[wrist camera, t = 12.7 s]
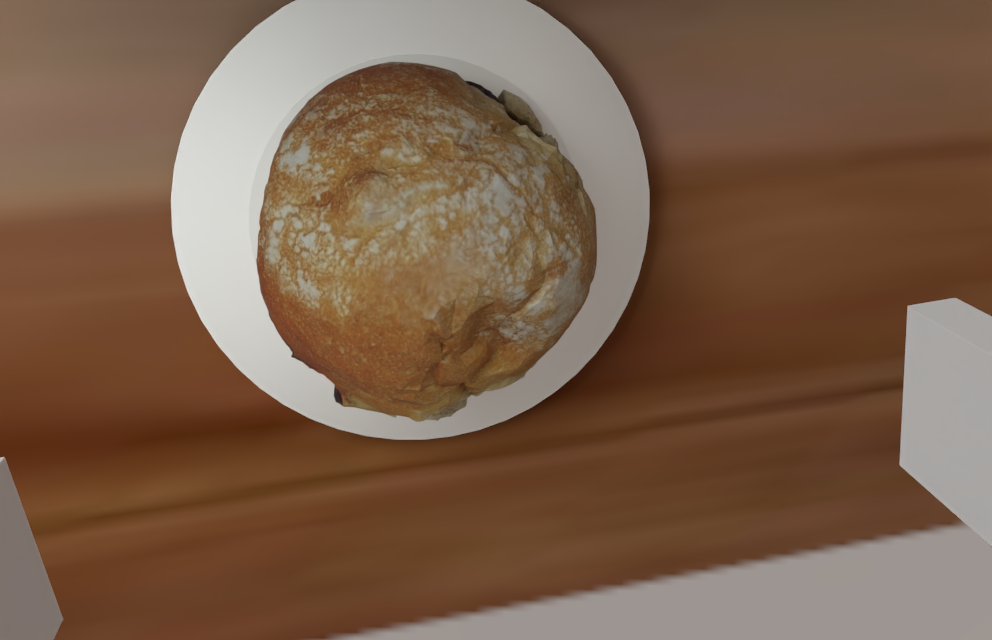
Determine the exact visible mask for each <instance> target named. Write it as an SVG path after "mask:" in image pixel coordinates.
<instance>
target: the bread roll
mask: <svg viewBox="0 0 992 640" xmlns="http://www.w3.org/2000/svg"><path fill="white" fill-rule="evenodd" d="M259 225H260V230H259V234H258V249H257V259H256V263H257V271H258V275H259V283H260V290H261V294H262V297H263V300H264V302H265V305H266V307H267V309H268V311H269V317H270V319H271V321H272V322H273V324H274V326H275V328H276V330H277V332H278V333H279V335H280V336H281V338H282V340H283V341H284V342H285V344H286V345H287V346H288V347H289V348H290V350H291V351H292V356H291V357H293V358H295V359H297V360H299V361H301V362H303V363H304V364H305V365H307V366H308V367H309V368H310V369H313V370H315V371H316V372H318V373H320V374H323V375H324V376H325V377H327V378H328V379H329V380H330V381H331V382H332V383H333V384H334V385H335V388H334V398H335V401H336V402H337V403H339V404H341V405H342V406H343V407H355V408H360V409H364V410H369V411H375V412H380V413H384V414H387V415H389V416H392V417H394V418H396V416H397V415H398V416H404V417H409V418H410V419H412V420H414V421H415V422H420V421H424V420H437V421H438V420H439V419H441V418H444V417H450V416H452V415H453V414H454V413H455V412H457V411H458V410H460V409H462V408H464V407H465V406H466V404H467V398H468V397H470V396H471V395H473V396H476V397H477V396H479V395H481V394H482V393H483V392H484V391H493V390H497V389H501V388H504V387H506V386H509V385H511V384H513V383H514V382H516V381H518V380H519V379H521V378H523V377H525V373H526V372H527V371H528V370H529V369H531V368H532V367H533V366H534V365H535V364H536V362H537V361H538V360H539V359H540V358H541V357H542V356H544V355H545V354H546V353H547V352H548V351H549V350H550V349H551V348H552V347H553V346H554V345H555V344H556V343H557V342H558V341H559V339H560V338H561V337H562V335H563V334H564V333H565V331H566V330H567V329H568V328H569V327H570V325H571V323H572V321H573V320H574V318H575V317H576V316H577V314H578V313H579V311H580V310H581V308H582V306H583V305H584V303H585V301H586V299H587V296H588V294H589V291H590V285H591V283H592V281H593V279H594V275H595V270H596V262H597V233H596V215H595V208H594V206H593V204H592V202H591V200H590V197H589V195H588V194H587V192H586V191H585V189H584V187H583V181H582V179H581V177H580V175H579V173H578V171H577V170H576V169H575V167H574V165H573V164H571V162H570V161H569V160H568V159H567V158H565V156H563V155H562V154H561V153H560V151H559V149H558V142H557V141H556V138H553V137H552V135H549V136H548V134H547V133H546V134H545V135H544V133H543V132H542V126H541V123H540V122H539V120H538V119H537V117H536V116H535V114H534V112H533V111H532V109H531V107H530V106H529V105H528V104H527V103H526V102H525V101H524V100H523V99H521V98H520V97H519V96H516V95H514V94H512V93H510V92H508V91H506V90H504V89H503V91H502V92H501V93H500V95H499V96H498V98H497V97H496V96H495V95H493V94H492V92H491V91H489V90H487V89H485V88H484V87H483V86H482V85H479V84H476V83H474V82H471V81H464V80H463V79H462V78H461V77H460V76H459V75H458V74H457V73H456V72H453V71H451V70H447V69H444V68H440V67H436V66H431V65H425V64H420V63H409V62H387V63H381V64H377V65H373V66H369V67H366V68H362V69H359V70H357V71H354V72H352V73H349V74H347V75H345V76H343V77H341V78H339V79H337V80H335V81H333V82H332V83H330V84H328V85H327V86H326V87H324V88H323V89H322V90H321V91H319V92H318V93H317V94H316V95H314V96H313V97H312V98H311V99H310V100H308V101H307V103H306V104H305V106H304V107H303V108H302V109H301V110H300V112H299V113H298V114H297V115H296V116H295V118H294V119H293V120H292V121H291V123H290V124H289V125H288V127H287V128H286V129H285V131H284V133H283V135H282V137H281V140H280V143H279V147H278V148H277V151H276V153H275V154H274V157H273V161H272V164H271V167H270V173H269V178H268V183H267V184H266V187H265V190H264V200H263V205H262V209H261V212H260V219H259Z"/></svg>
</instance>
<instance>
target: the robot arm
mask: <svg viewBox="0 0 992 640" xmlns="http://www.w3.org/2000/svg"><path fill="white" fill-rule="evenodd" d="M899 465H900V466H901V467H902V468H903V469H904V470H905V471H907V472H908V473H909V474H910V475H911V476H912V477H913V478H914V479H916V480H917V481H918V482H919V483H920V484H921V485H922V486H924V487H925V488H926V489H927V490H928V491H929V492H930V493H931V494H933V495H934V496H935V497H936V498H937V499H938V500H939V501H940V502H942V503H943V504H944V505H945V506H946V507H947V508H948V509H949V510H951V511H952V512H953V513H954V514H955V515H956V516H957V517H959V518H960V519H961V520H962V521H963V522H964V523H965V524H966V525H968V526H969V527H970V528H971V529H972V530H973V531H974V532H976V533H977V534H978V535H979V536H980V537H981V538H982V539H983V540H985V541H986V542H987V543H988V544H989V545H990V546H991V547H992V316H990V315H988V314H986V313H984V312H982V311H980V310H978V309H976V308H974V307H972V306H970V305H969V304H967V303H965V302H963V301H961V300H959V299H957V298H951V299H945V300H939V301H933V302H927V303H921V304H915V305H909V306H908V308H907V327H906V347H905V366H904V386H903V406H902V425H901V445H900V464H899ZM62 620H63V617H62V615H61V612H60V609H59V606H58V603H57V601H56V598H55V595H54V592H53V590H52V587H51V584H50V581H49V579H48V576H47V573H46V570H45V567H44V565H43V562H42V559H41V556H40V554H39V551H38V548H37V545H36V543H35V540H34V537H33V534H32V531H31V529H30V526H29V523H28V520H27V518H26V515H25V512H24V509H23V507H22V504H21V501H20V498H19V495H18V493H17V490H16V487H15V484H14V482H13V479H12V476H11V473H10V470H9V468H8V465H7V462H6V459H5V457H1V458H0V640H53V639H54V637H55V635H56V633H57V631H58V629H59V627H60V625H61V623H62Z"/></svg>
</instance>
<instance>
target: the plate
mask: <svg viewBox="0 0 992 640" xmlns="http://www.w3.org/2000/svg"><path fill="white" fill-rule="evenodd" d="M387 62H409V63H420V64H425V65H431V66H436V67H440V68H444V69H447V70H451V71H453V72H456V73H457V74H458V75H459V76H460V77H461V78H462V79H463V80H464V81H471V82H474V83H476V84H479V85H482V86H483V87H484V88H485V89H487V90H489V91H491V92H492V94H493V95H495V96H496V97H497V98H498V96H499V95H500V93H501V92H502V91H503V89H504V90H506V91H508V92H510V93H512V94H514V95H516V96H519V97H520V98H521V99H523V100H524V101H525V102H526V103H527V104H528V105H529V106H530V107H531V109H532V111H533V112H534V114H535V116H536V117H537V119H538V120H539V122H540V123H541V126H542V132H543V133H544V135H545V134H546V133H547V134H548V136H549V135H552V137H553V138H556V141H557V142H558V149H559V151H560V153H561V154H562V155H563V156H565V158H567V159H568V160H569V161H570V162H571V164H573V165H574V167H575V169H576V170H577V171H578V173H579V175H580V177H581V179H582V181H583V187H584V189H585V191H586V192H587V194H588V195H589V197H590V200H591V202H592V204H593V206H594V208H595V215H596V233H597V262H596V270H595V275H594V279H593V281H592V283H591V285H590V291H589V294H588V296H587V299H586V301H585V303H584V305H583V306H582V308H581V310H580V311H579V313H578V314H577V316H576V317H575V318H574V320H573V321H572V323H571V325H570V327H569V328H568V329H567V330H566V331H565V333H564V334H563V335H562V337H561V338H560V339H559V341H558V342H557V343H556V344H555V345H554V346H553V347H552V348H551V349H550V350H549V351H548V352H547V353H546V354H545V355H544V356H542V357H541V358H540V359H539V360H538V361H537V362H536V364H535V365H534V366H533V367H532V368H531V369H529V370H528V371H527V372H526V373H525V377H523V378H521V379H519V380H518V381H516V382H514V383H513V384H511V385H509V386H506V387H504V388H501V389H497V390H493V391H484V392H483V393H482V394H481V395H479V396H477V397H476V396H473V395H471V396H470V397H468V398H467V404H466V406H465V407H464V408H462V409H460V410H458V411H457V412H455V413H454V414H453V415H452V416H450V417H444V418H441V419H439V420H438V421H437V420H424V421H420V422H415V421H414V420H412V419H410V418H409V417H404V416H398V415H397V416H396V418H394V417H392V416H389V415H387V414H384V413H380V412H375V411H369V410H364V409H360V408H355V407H343V406H342V405H341V404H339V403H337V402H336V401H335V398H334V388H335V385H334V384H333V383H332V382H331V381H330V380H329V379H328V378H327V377H325V376H324V375H323V374H320V373H318V372H316V371H315V370H313V369H310V368H309V367H308V366H307V365H305V364H304V363H303V362H301V361H299V360H297V359H295V358H293V357H291V356H292V351H291V350H290V348H289V347H288V346H287V345H286V344H285V342H284V341H283V340H282V338H281V336H280V335H279V333H278V332H277V330H276V328H275V326H274V324H273V322H272V321H271V319H270V317H269V311H268V309H267V307H266V305H265V302H264V300H263V297H262V294H261V290H260V283H259V275H258V271H257V263H256V259H257V249H258V234H259V230H260V225H259V219H260V212H261V209H262V205H263V200H264V190H265V187H266V184H267V183H268V178H269V173H270V167H271V164H272V161H273V157H274V154H275V153H276V151H277V148H278V147H279V143H280V140H281V137H282V135H283V133H284V131H285V129H286V128H287V127H288V125H289V124H290V123H291V121H292V120H293V119H294V118H295V116H296V115H297V114H298V113H299V112H300V110H301V109H302V108H303V107H304V106H305V104H306V103H307V101H308V100H310V99H311V98H312V97H313V96H314V95H316V94H317V93H318V92H319V91H321V90H322V89H323V88H324V87H326V86H327V85H328V84H330V83H332V82H333V81H335V80H337V79H339V78H341V77H343V76H345V75H347V74H349V73H352V72H354V71H357V70H359V69H362V68H366V67H369V66H373V65H377V64H381V63H387ZM649 209H650V190H649V183H648V175H647V167H646V160H645V156H644V152H643V149H642V145H641V141H640V137H639V133H638V130H637V128H636V126H635V123H634V121H633V118H632V116H631V113H630V111H629V109H628V106H627V104H626V102H625V100H624V98H623V97H622V95H621V93H620V91H619V90H618V88H617V86H616V85H615V83H614V81H613V79H612V78H611V76H610V75H609V73H608V72H607V71H606V69H605V68H604V67H603V66H602V64H601V63H600V62H599V60H598V59H597V58H596V57H595V55H594V54H593V53H592V51H591V50H590V49H589V48H588V47H587V46H586V45H585V44H584V43H582V42H581V41H580V40H579V39H578V38H577V37H576V36H575V35H574V34H573V33H572V32H571V31H570V30H569V29H568V28H567V27H566V26H564V25H563V24H561V23H560V22H559V21H557V20H556V19H555V18H553V17H552V16H551V15H549V14H548V13H547V12H545V11H544V10H543V9H541V8H539V7H537V6H536V5H534V4H532V3H530V2H528V1H526V0H295V1H293V2H291V3H289V4H287V5H286V6H284V7H282V8H281V9H279V10H278V11H277V12H275V13H274V14H272V15H271V16H270V17H268V18H267V19H265V20H264V21H263V22H261V23H260V24H258V25H257V26H256V27H255V28H254V29H253V30H252V31H250V32H249V33H248V34H247V35H246V36H245V37H244V38H243V39H242V40H241V41H240V42H239V43H238V44H237V45H236V46H235V47H234V48H233V49H232V50H231V51H230V52H229V53H228V55H227V56H226V57H225V59H224V60H223V61H222V62H221V64H220V65H219V66H218V67H217V69H216V70H215V71H214V73H213V74H212V75H211V76H210V78H209V80H208V82H207V83H206V85H205V87H204V89H203V90H202V92H201V94H200V96H199V97H198V99H197V101H196V103H195V104H194V106H193V109H192V111H191V114H190V116H189V119H188V121H187V124H186V126H185V129H184V131H183V134H182V137H181V141H180V145H179V149H178V153H177V157H176V161H175V166H174V173H173V183H172V194H171V214H172V233H173V238H174V244H175V249H176V255H177V260H178V264H179V267H180V270H181V273H182V277H183V280H184V283H185V286H186V289H187V292H188V294H189V296H190V298H191V300H192V302H193V304H194V306H195V308H196V310H197V313H198V315H199V317H200V319H201V321H202V322H203V324H204V325H205V327H206V328H207V330H208V331H209V333H210V334H211V336H212V337H213V339H214V340H215V342H216V343H217V345H218V346H219V347H220V348H221V350H222V351H223V352H224V353H225V354H226V355H227V357H228V358H229V359H230V360H231V361H232V362H233V363H234V365H235V366H236V367H237V368H238V369H239V370H240V371H241V372H242V373H243V374H245V375H246V376H247V377H248V378H249V379H250V380H251V381H252V382H254V383H255V384H256V385H257V386H258V387H259V388H260V389H262V390H263V391H265V392H266V393H268V394H269V395H270V396H272V397H273V398H275V399H276V400H278V401H279V402H281V403H282V404H283V405H285V406H287V407H289V408H291V409H293V410H295V411H296V412H298V413H300V414H302V415H304V416H306V417H308V418H310V419H312V420H315V421H318V422H320V423H323V424H326V425H328V426H331V427H333V428H336V429H339V430H343V431H347V432H352V433H356V434H360V435H364V436H370V437H378V438H386V439H394V440H425V439H433V438H442V437H451V436H456V435H460V434H464V433H468V432H473V431H477V430H481V429H483V428H486V427H489V426H492V425H494V424H497V423H500V422H503V421H506V420H508V419H510V418H512V417H514V416H516V415H518V414H520V413H522V412H524V411H526V410H528V409H530V408H532V407H533V406H535V405H536V404H538V403H539V402H541V401H542V400H544V399H545V398H547V397H548V396H550V395H551V394H553V393H554V392H556V391H557V390H558V389H559V388H561V387H562V386H563V385H564V384H565V383H567V382H568V381H569V380H570V379H571V378H572V377H574V376H575V375H576V374H577V373H578V372H579V371H580V370H581V369H582V368H583V367H584V366H585V365H586V364H587V362H588V361H589V360H590V359H591V358H592V357H593V356H594V355H595V354H596V353H597V351H598V350H599V349H600V347H601V346H602V345H603V343H604V342H605V340H606V339H607V338H608V336H609V335H610V334H611V332H612V331H613V329H614V328H615V326H616V324H617V322H618V320H619V319H620V317H621V315H622V313H623V311H624V310H625V308H626V306H627V304H628V302H629V299H630V297H631V294H632V292H633V289H634V287H635V284H636V282H637V279H638V276H639V273H640V269H641V265H642V261H643V258H644V254H645V250H646V243H647V235H648V228H649Z"/></svg>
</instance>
